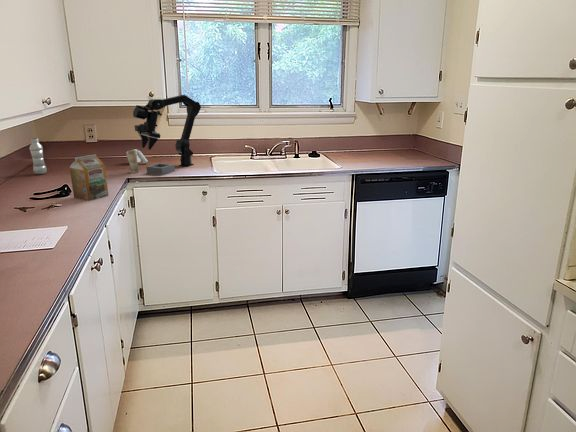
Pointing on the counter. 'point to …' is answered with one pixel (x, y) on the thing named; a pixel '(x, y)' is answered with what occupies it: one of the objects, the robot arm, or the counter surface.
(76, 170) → the milk carton
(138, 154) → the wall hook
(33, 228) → the counter surface
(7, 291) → the counter surface
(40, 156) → the plastic bottle
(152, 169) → the frame
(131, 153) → the birch peg
